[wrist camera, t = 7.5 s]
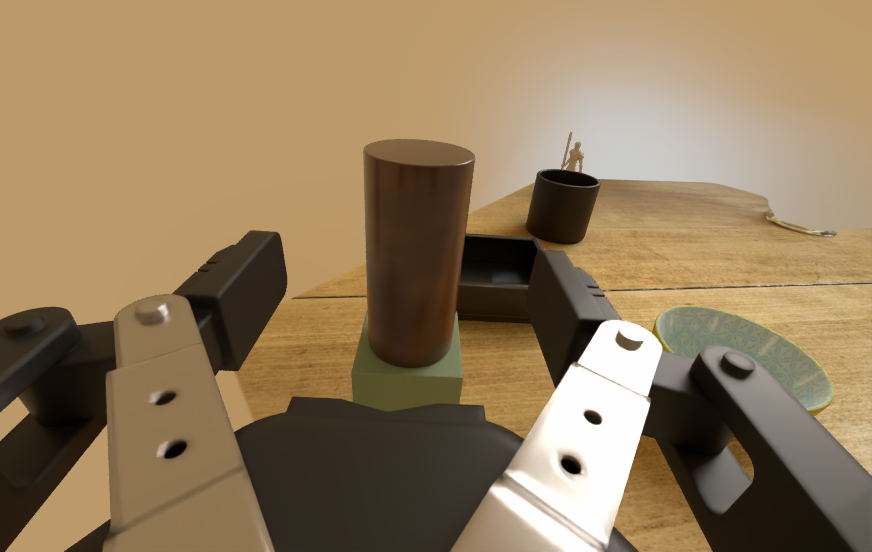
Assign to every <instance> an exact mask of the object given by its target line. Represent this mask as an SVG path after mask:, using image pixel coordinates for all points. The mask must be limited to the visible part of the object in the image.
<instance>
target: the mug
mask: <svg viewBox="0 0 872 552" xmlns="http://www.w3.org/2000/svg"><path fill="white" fill-rule="evenodd" d="M599 188H600V181H599V180H598V179H596V178H594V177H592V176H589V175H587V174H583V173H579V172H575V171H569V170H560V169H547V170H541V171H539V172H538V173H537V177H536V181H535V186H534V190H533V195H532V200H531V204H530V209H529V214H528V218H527V223H526V227H527V229H528V231H529V232H530V233H532V234H533V235H535V236H537V237H539V238H541V239H544V240H548V241H552V242H557V243H575V242H578V241H581V240H582V239H583V238H584V236H585V233H586V230H587V227H588V223H589V220H590V217H591V214H592V210H593V207H594V204H595V201H596V197H597V194H598V191H599Z"/></svg>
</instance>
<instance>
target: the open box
mask: <svg viewBox="0 0 872 552" xmlns="http://www.w3.org/2000/svg"><path fill="white" fill-rule="evenodd" d="M539 250H544V249H543V247H542V245H541V244H540V242H539V240H538V238H529V237H513V236H498V235H482V234H467V233H466V234H465V242H464V250H463V258H462V266H461V274H460V282H459V290H458V298H457V306H456V312H457V317H458V320H476V321H495V322H513V323H532V322H531V320H530V317H529V314H528V311H527V307H526V295H527V290H528V286H529V282H530V277H531V273H532V269H533V265H534V261H535V257H536V254H537V252H538V251H539Z"/></svg>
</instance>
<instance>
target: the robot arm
mask: <svg viewBox="0 0 872 552" xmlns="http://www.w3.org/2000/svg"><path fill="white" fill-rule="evenodd" d="M286 288H287V272H286V266H285V260H284V253H283V247H282V241H281V237H280V235H279V233H278V232H269V231H254V230H251V231H249V232H248V233H247V234H246V235H245V236H244V237H243V238H242V239H241V240H240V241H239V242H238V243H237V244H236V245H231V246H229V247H227V248H225V249H223V250H221V251H219V252H216V253H215V254H214V255H213V256H212V257H211V258H210V259H209V260H208V261H207V263H206V264H204V265H203V266H201V267H200V268H199V269H198V272H195V273H194V274H193V275H192V276H191V277H190V278H188V279H187V280H186V281H185V282H184V283H183V284H182V285H181V286H180V287H179V288H178V289H177V290H175V291H174V292H173V293H172V294H163V295H155V296H151V297H147V298H143V299H141V300H138V301H135V302H133V303H131V304H129V305H127V306H126V307H125V308H123V309H122V310H121V311H119V312H118V313H117V315H116V316H115V318H114V321H108V322H100V323H93V324H86V325H77V324H76V322H75V320H74V319H73V317H72V315H71V313H70V312H69V311H68V310H67V309H64V308H60V307H43V308H37V309H31V310H27V311H23V312H20V313H16V314H13V315H10V316H8V317H5V318H3V319H1V320H0V412H1V411H2V410H3V409H4V408H6V407H7V406H8V405H9V404H10V403H11V402H12V401H13V400H15V399H16V397H19V398H20V400H21V401H22V403H23V404H24V405H25V407H26V408H27V409H28V411H29V412H30V413H29V414H28V415H27V416H26V417H25V418H24V419H23V420H22V421H21V422H20V423H19V424H18V425H17V426H16V427H15V428H14V429H12V430H11V431H10V432H9V433H8V434H7V435H6V436H5V437H4V438H3V439H2V440H1V441H0V552H5V551H6V550H7V548H8V547H9V546H10V545H11V543H12V542H13V541H14V539H15V538H16V537H17V536H18V535H19V533H20V532H21V531H22V530H23V528H24V527H25V526H26V525H27V523H28V522H29V521H30V519H31V518H32V517H33V516H34V515H35V513H36V512H37V511H38V510H39V508H40V507H41V506H42V505H43V503H44V502H45V501H46V500H47V498H48V497H49V496H50V495H51V493H52V492H53V491H54V490H55V488H56V487H57V486H58V485H59V483H60V482H61V481H62V480H63V478H64V477H65V476H66V475H67V473H68V472H69V471H70V470H71V468H72V467H73V466H74V465H75V463H76V462H77V461H78V460H79V458H80V457H81V456H82V455H83V453H84V452H85V451H86V450H87V448H88V447H89V446H90V445H91V443H92V442H93V441H94V440H95V438H96V437H97V436H98V435H99V433H100V432H101V431H102V429H103V428H104V427H105V426H106V425H107V426H108V427H107V428H108V456H109V483H110V512H111V519H109V520H108V521H107V522H105V523H104V524H102V525H101V526H100V527H98V528H97V529H95V530H94V531H93V532H91V533H90V534H88V535H87V536H85V537H84V538H82V539H81V540H80V541H78V542H77V543H76V544H74V545H73V546H71V547H70V548H68V549H67V550H66V551H64V552H639V551H638V550H637V549H636V548H635V547H634V546H633V545H632V544H631V543H630V542H629V541H628V540H627V539H626V538H625V537H624V536H623V535H622V534H621V533H620V532H619V531H618V530H617V529H616V528H615V527H614V526H613V525H614V521H615V518H616V515H617V511H618V508H619V505H620V501H621V498H622V495H623V492H624V488H625V485H626V482H627V478H628V475H629V472H630V469H631V465H632V462H633V459H634V455H635V452H636V449H637V446H638V442H639V439H640V436H641V434H642V435H645V436H648V437H652V438H655V439H656V441H657V443H658V445H659V447H660V449H661V451H662V453H663V455H664V457H665V459H666V461H667V463H668V465H669V466H670V468H671V470H672V472H673V474H674V476H675V478H676V480H677V482H678V484H679V486H680V488H681V490H682V492H683V494H684V496H685V498H686V500H687V502H688V504H689V506H690V508H691V510H692V512H693V514H694V516H695V518H696V520H697V522H698V524H699V526H700V528H701V530H702V531H703V533H704V535H705V537H706V539H707V541H708V543H709V545H710V547H711V549H712V551H713V552H872V476H871V475H870V474H869V473H868V472H867V471H866V470H865V469H864V468H863V467H862V466H861V465H860V463H859V462H858V461H857V460H856V459H855V458H854V457H853V456H852V455H851V454H850V453H849V452H848V451H847V450H846V449H845V448H844V447H843V446H842V445H841V444H840V443H839V442H838V441H837V440H836V439H835V438H834V437H833V436H832V435H831V434H830V433H829V432H828V431H827V430H826V429H825V428H824V427H823V426H822V425H821V423H820V422H819V421H818V420H817V419H816V418H815V417H814V416H813V415H812V414H811V413H810V412H809V411H808V410H807V409H806V408H805V407H804V406H803V405H802V404H801V403H800V402H799V401H798V400H797V399H796V398H795V397H794V396H793V395H792V394H791V393H790V392H789V391H788V390H787V389H786V388H785V387H784V386H783V385H782V383H781V382H780V381H779V380H778V379H777V378H776V377H775V376H774V375H773V374H772V373H771V372H770V371H769V370H768V369H767V368H766V367H765V366H764V365H762V364H761V363H760V362H758V361H757V360H755V359H754V358H752V357H751V356H749V355H747V354H745V353H743V352H741V351H738V350H736V349H733V348H730V347H726V346H721V345H707V346H704V347H703V348H702V349H701V350H700V352H699V354H698V355H697V357H696V359H693V358H689V357H685V356H682V355H678V354H674V353H670V352H666V351H663V350H662V347H661V344H660V342H659V341H658V339H657V338H656V337H655V336H654V335H653V334H651V333H650V332H649V331H647V330H646V329H644V328H642V327H640V326H638V325H636V324H633V323H630V322H626V321H623V320H622V319H621V317H620V316H619V315H618V313H617V312H616V310H615V309H614V307H613V306H612V305H611V303H610V302H609V300H608V299H607V297H605V295H604V293H603V292H602V290H601V289H599V286H598V285H597V283H596V282H595V280H594V279H593V278H592V276H590V275H589V274H587V273H586V272H585V271H583V270H582V269H580V268H577V267H574V266H573V264H572V263H571V261H570V260H569V258H568V256H567V255H566V253H565V252H563V251H550V250H539V251H538V252H537V254H536V257H535V261H534V265H533V269H532V273H531V277H530V282H529V286H528V290H527V295H526V307H527V311H528V314H529V317H530V320H531V322H532V325H533V328H534V331H535V334H536V336H537V339H538V342H539V345H540V347H541V350H542V353H543V356H544V358H545V361H546V364H547V367H548V370H549V372H550V375H551V378H552V381H553V383H554V386H555V388H557V389H556V390H555V392H554V393H553V395H552V397H551V398H550V400H549V401H548V403H547V405H546V406H545V408H544V409H543V411H542V413H541V414H540V416H539V417H538V419H537V421H536V422H535V424H534V425H533V427H532V429H531V430H530V432H529V434H528V435H527V437H526V438H525V439H523V438H522V437H520V436H518V435H517V434H515V433H514V432H512V431H510V430H508V429H506V428H504V427H502V426H499V425H497V424H494V423H491V422H488V421H486V418H485V411H484V406H483V405H461V404H440V403H437V404H431V405H425V406H420V407H414V408H408V409H402V410H396V411H382V410H379V409H375V408H372V407H368V406H364V405H361V404H357V403H353V402H350V401H346V400H343V399H333V398H311V397H292V399H291V401H290V404H289V406H288V409H287V411H286V412H285V413H279V414H276V415H272V416H268V417H265V418H263V419H260V420H257V421H255V422H253V423H250V424H248V425H246V426H244V427H242V428H241V429H239V430H237V431H235V432H233V429H232V426H231V423H230V420H229V417H228V414H227V411H226V409H225V405H224V402H223V400H222V397H221V394H220V391H219V388H218V385H217V382H216V379H215V376H216V374H217V373H218V371H219V370H225V371H238V370H239V369H240V367H241V366H242V364H243V362H244V361H245V359H246V357H247V356H248V354H249V352H250V351H251V349H252V348H253V346H254V344H255V343H256V341H257V339H258V338H259V336H260V334H261V333H262V331H263V330H264V328H265V326H266V325H267V323H268V321H269V320H270V318H271V317H272V315H273V313H274V312H275V310H276V308H277V307H278V305H279V303H280V302H281V300H282V298H283V297H284V295H285V292H286ZM734 436H735V437H736V438H737V440H738V441H739V442H740V444H741V445H742V447H743V448H744V449H745V451H746V452H747V454H748V455H749V457H750V459H751V461H752V463H753V467H754V479H753V482H752V481H751V479H750V478H749V476H748V475H747V473H746V472H745V470H744V469H743V467H742V466H741V464H740V463H739V462H738V460H737V459H736V457H735V456H734V454H733V453H732V451H731V450H730V448H729V447H728V443H729V442H730V441H731V440H732V438H733V437H734Z"/></svg>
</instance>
